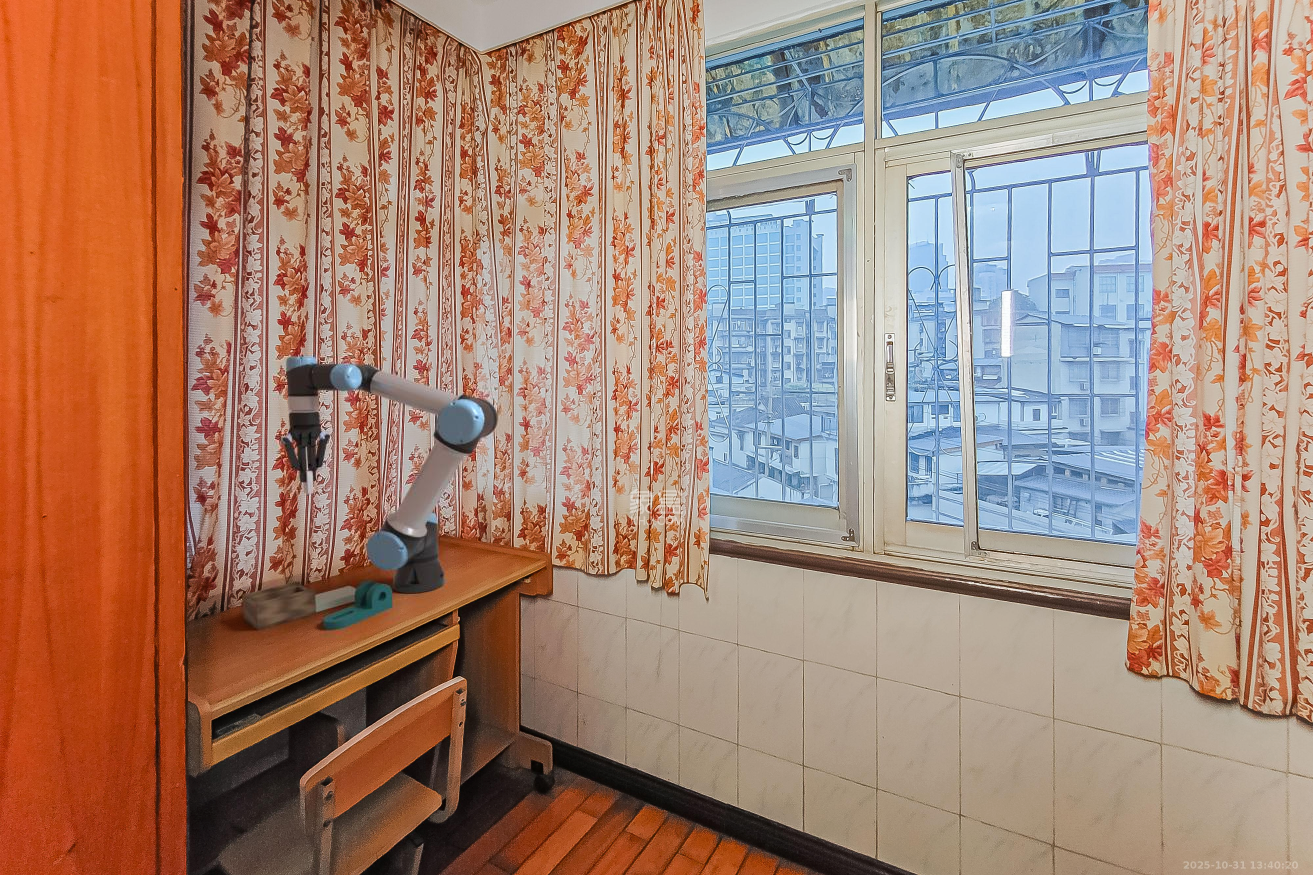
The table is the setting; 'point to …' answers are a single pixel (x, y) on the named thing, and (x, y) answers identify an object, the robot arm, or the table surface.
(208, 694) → the table surface
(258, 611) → the box
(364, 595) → the bracket
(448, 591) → the table surface
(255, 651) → the table surface
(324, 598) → the lid
